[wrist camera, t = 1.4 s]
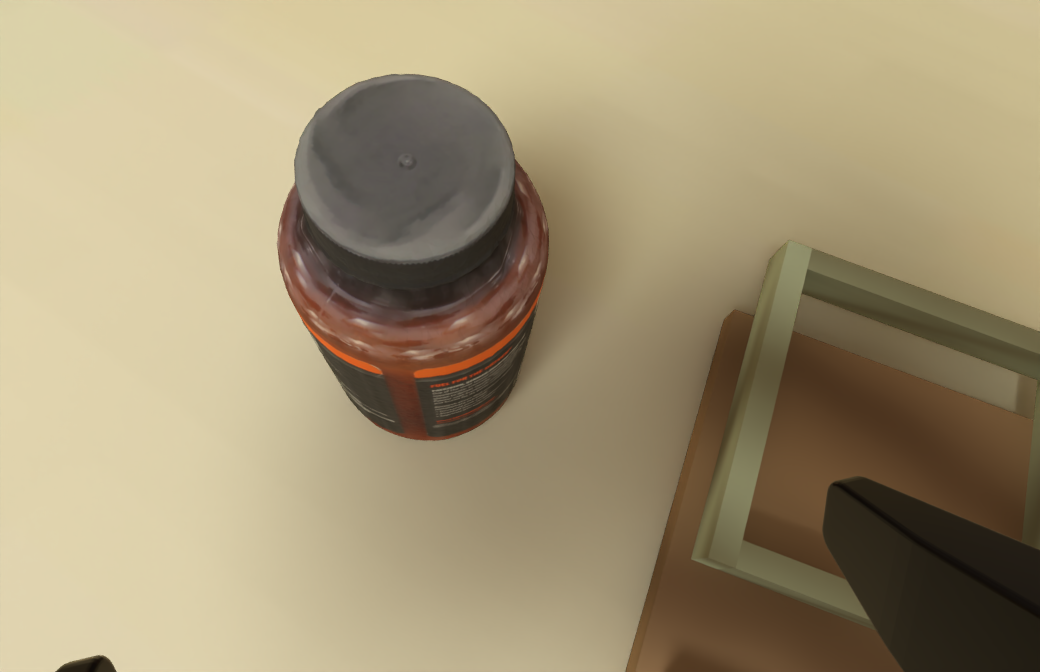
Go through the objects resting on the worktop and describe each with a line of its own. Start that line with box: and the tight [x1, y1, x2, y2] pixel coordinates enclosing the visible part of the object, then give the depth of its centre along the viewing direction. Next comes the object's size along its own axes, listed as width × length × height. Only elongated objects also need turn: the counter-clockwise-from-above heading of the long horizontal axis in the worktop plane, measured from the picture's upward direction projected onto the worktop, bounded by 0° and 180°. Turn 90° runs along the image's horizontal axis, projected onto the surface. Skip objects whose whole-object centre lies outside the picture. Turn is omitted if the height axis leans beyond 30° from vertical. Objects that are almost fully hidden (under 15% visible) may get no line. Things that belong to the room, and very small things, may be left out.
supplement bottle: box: [277, 74, 549, 441], centre depth 18 cm, size 6×6×11 cm
